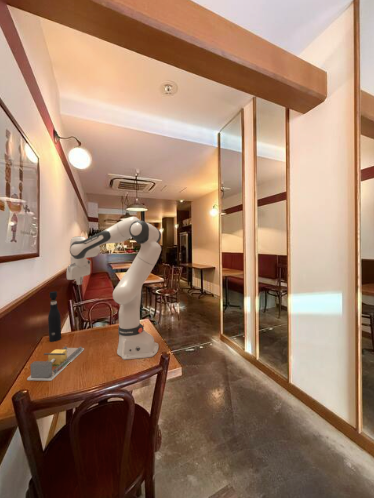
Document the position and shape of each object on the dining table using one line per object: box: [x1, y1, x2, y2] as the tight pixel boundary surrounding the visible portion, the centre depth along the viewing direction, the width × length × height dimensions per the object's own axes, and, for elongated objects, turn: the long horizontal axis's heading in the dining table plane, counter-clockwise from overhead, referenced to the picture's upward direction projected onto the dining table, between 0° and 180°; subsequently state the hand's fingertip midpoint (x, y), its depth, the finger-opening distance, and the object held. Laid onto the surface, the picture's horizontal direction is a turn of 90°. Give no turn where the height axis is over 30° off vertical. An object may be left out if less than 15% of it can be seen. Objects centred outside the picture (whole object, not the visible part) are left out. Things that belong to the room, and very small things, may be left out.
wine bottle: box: [47, 290, 62, 343], centre depth 130 cm, size 6×6×30 cm
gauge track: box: [26, 345, 85, 382], centre depth 104 cm, size 11×26×7 cm, turn 177°
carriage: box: [43, 349, 67, 365], centre depth 101 cm, size 10×9×5 cm
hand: (79, 284), depth 130 cm, fingers closed
